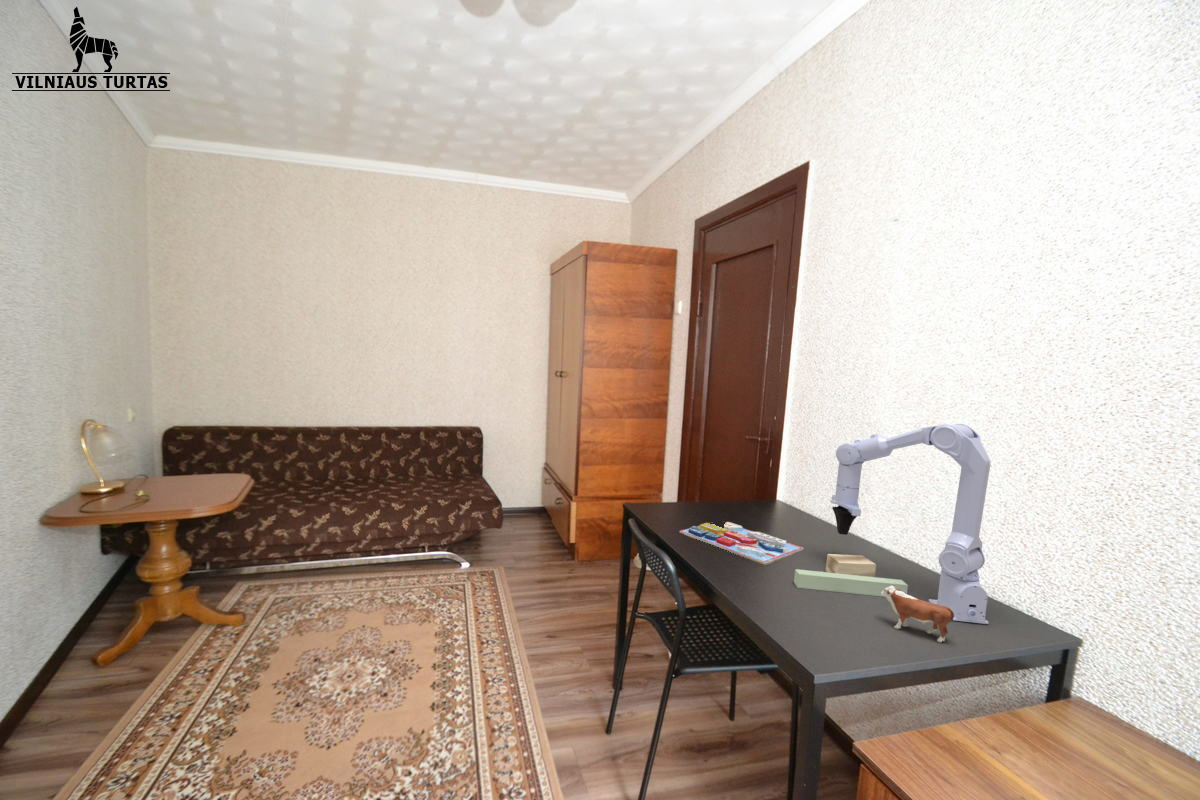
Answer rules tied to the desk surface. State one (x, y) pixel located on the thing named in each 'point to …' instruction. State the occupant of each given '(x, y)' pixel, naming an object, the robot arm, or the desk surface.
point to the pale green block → (845, 582)
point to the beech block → (850, 565)
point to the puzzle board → (744, 542)
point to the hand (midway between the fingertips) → (842, 533)
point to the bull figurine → (918, 611)
